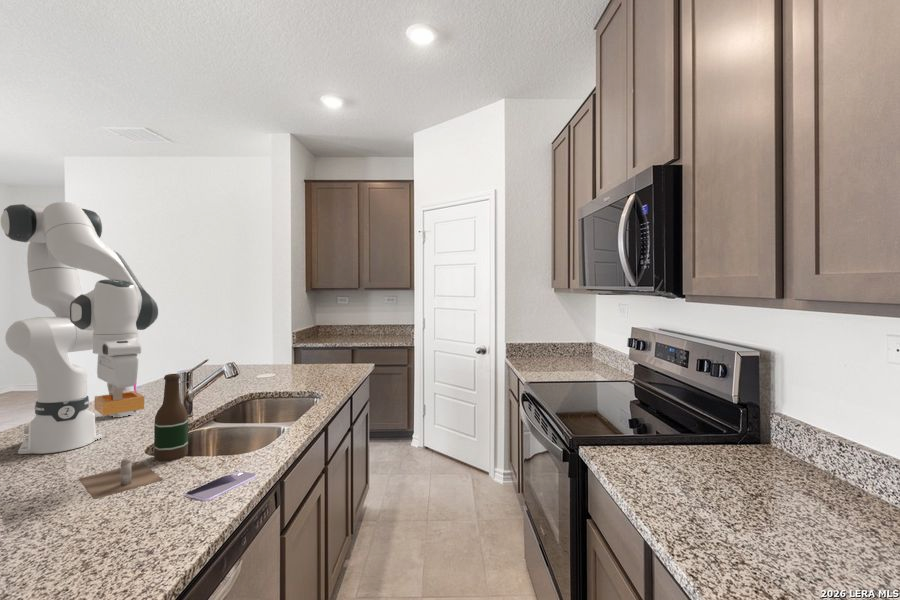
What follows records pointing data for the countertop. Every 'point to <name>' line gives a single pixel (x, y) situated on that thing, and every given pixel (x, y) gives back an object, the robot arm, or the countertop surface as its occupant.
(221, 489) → the mobile phone
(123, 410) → the orange hollow square frame
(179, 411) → the beer bottle
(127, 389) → the supplement can
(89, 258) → the robot arm
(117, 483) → the board
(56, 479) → the countertop surface
